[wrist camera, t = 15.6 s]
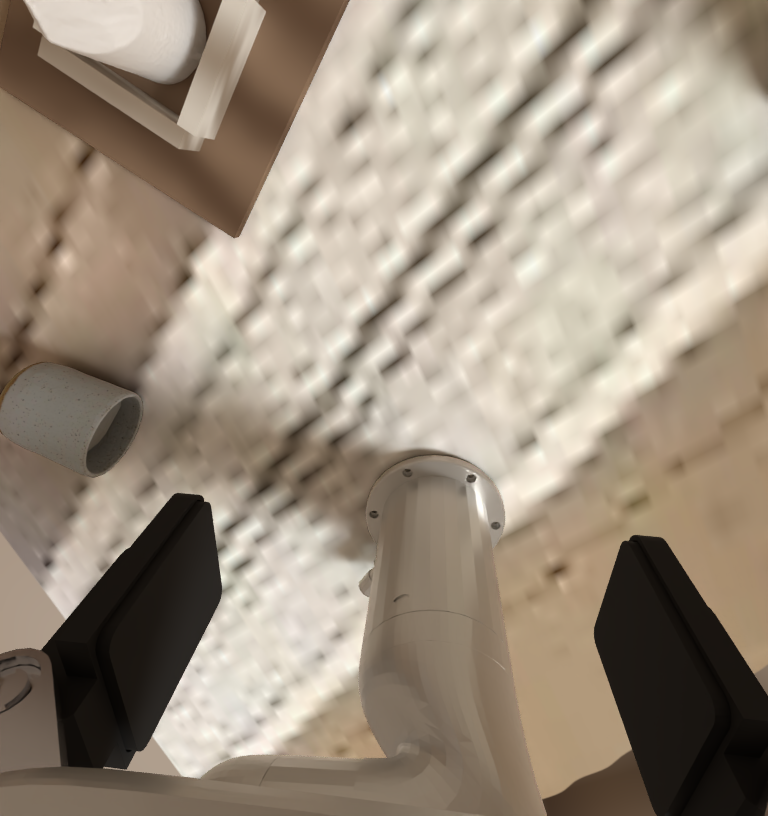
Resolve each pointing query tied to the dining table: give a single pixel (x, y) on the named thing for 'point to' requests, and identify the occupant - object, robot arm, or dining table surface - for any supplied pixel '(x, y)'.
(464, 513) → the robot arm
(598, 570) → the dining table surface
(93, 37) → the roll
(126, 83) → the stand
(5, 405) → the ceramic mug
